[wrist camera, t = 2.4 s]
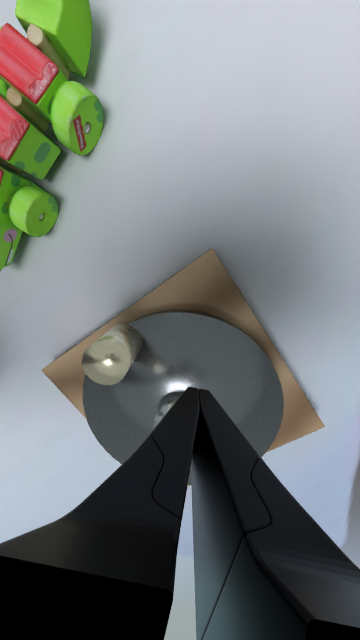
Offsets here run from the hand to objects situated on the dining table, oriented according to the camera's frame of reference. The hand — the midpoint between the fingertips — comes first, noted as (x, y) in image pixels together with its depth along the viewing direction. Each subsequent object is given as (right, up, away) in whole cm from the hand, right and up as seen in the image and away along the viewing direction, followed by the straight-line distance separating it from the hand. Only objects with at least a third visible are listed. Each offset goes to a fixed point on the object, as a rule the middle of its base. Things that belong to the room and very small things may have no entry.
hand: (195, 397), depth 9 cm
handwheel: (-1, -4, +12) cm, 13 cm away
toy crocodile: (-12, +16, +10) cm, 23 cm away
